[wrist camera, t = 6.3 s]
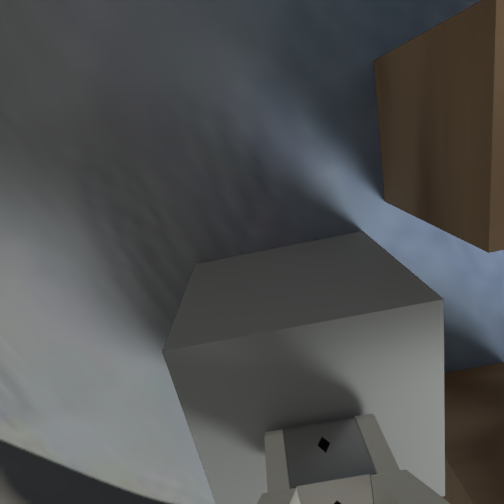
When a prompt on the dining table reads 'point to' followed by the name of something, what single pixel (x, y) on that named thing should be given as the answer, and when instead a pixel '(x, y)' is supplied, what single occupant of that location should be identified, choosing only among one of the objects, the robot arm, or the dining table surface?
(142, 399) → the dining table surface
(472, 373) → the walnut block seven
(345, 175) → the dining table surface
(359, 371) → the grey block
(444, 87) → the walnut block one
